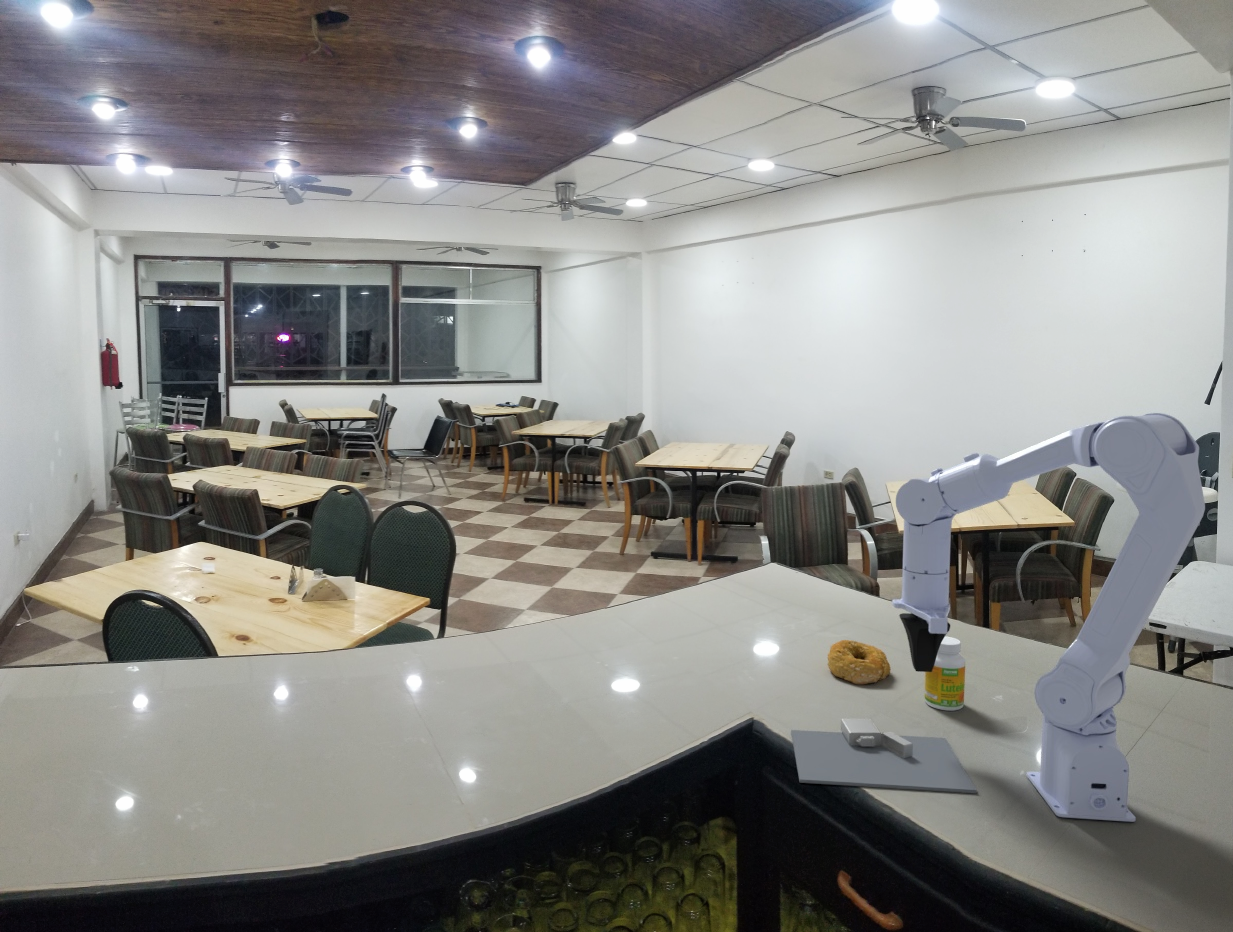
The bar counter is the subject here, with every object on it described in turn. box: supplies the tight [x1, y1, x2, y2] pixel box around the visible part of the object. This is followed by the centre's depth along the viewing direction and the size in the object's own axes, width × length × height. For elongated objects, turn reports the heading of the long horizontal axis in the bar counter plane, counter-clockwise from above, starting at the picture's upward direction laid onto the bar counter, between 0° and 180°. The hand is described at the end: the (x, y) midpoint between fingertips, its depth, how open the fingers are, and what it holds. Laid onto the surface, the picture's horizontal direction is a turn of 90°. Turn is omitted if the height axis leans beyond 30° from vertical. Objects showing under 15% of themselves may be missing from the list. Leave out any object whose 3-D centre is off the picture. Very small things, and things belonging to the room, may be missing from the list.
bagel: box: [827, 639, 891, 685], centre depth 128 cm, size 10×11×5 cm
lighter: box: [840, 718, 913, 758], centre depth 102 cm, size 7×2×8 cm
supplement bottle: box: [923, 635, 966, 712], centre depth 115 cm, size 5×5×10 cm
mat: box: [790, 729, 978, 794], centre depth 99 cm, size 14×20×1 cm
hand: (922, 669), depth 104 cm, fingers closed
